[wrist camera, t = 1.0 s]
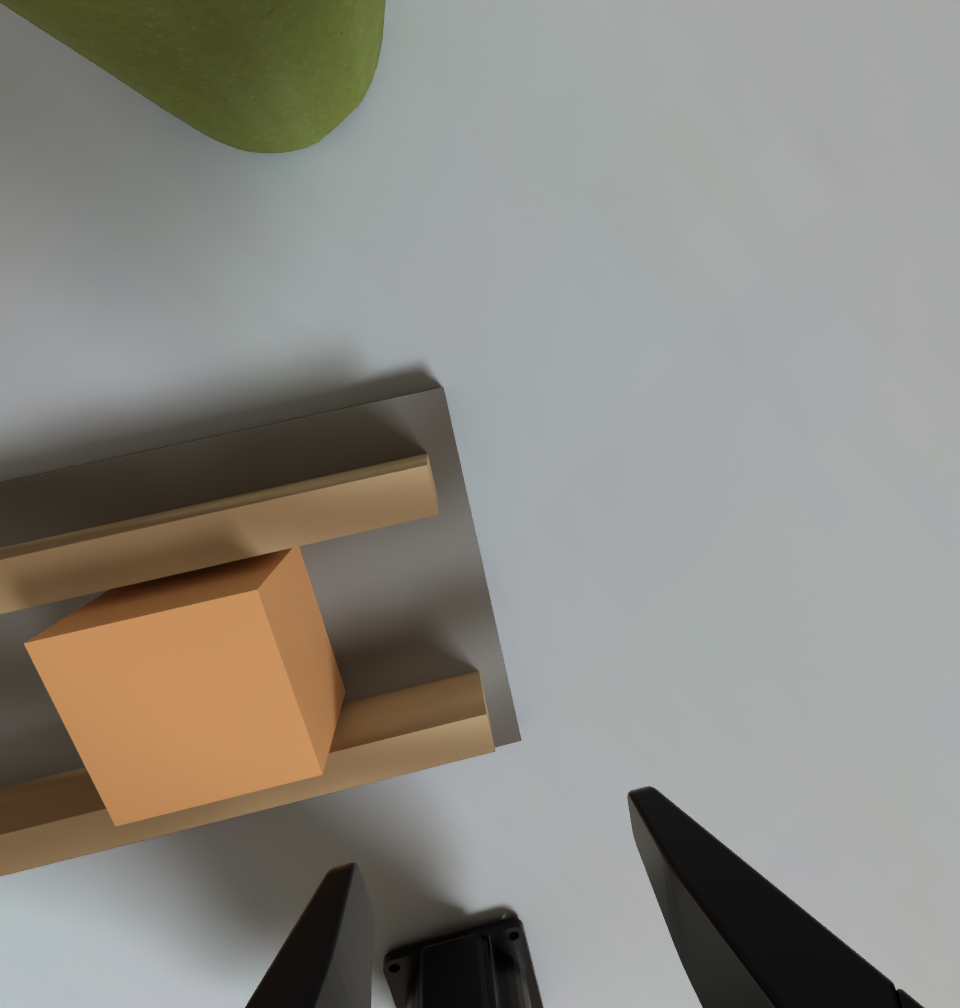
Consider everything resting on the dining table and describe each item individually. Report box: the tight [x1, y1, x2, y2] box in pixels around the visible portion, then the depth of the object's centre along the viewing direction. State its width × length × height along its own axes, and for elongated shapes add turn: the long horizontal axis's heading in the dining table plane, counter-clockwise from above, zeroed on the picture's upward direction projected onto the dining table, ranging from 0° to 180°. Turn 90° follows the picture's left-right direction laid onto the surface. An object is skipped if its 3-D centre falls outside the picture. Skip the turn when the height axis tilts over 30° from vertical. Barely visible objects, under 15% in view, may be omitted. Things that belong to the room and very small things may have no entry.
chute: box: [0, 387, 521, 876], centre depth 16 cm, size 14×33×3 cm, turn 101°
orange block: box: [24, 546, 346, 827], centre depth 15 cm, size 6×6×4 cm
